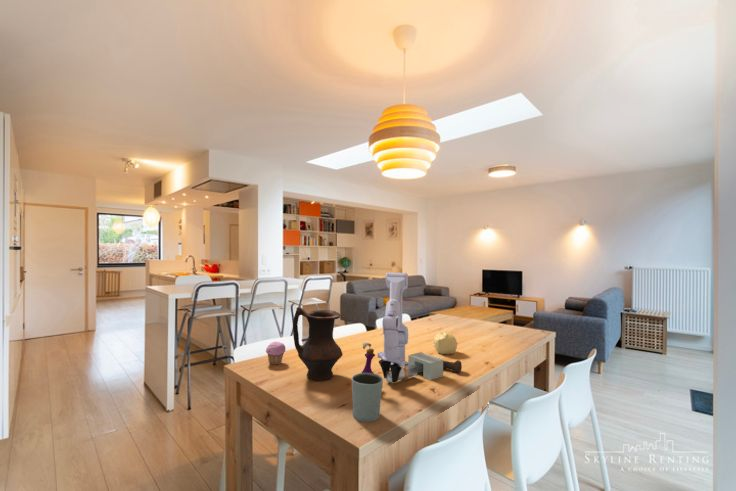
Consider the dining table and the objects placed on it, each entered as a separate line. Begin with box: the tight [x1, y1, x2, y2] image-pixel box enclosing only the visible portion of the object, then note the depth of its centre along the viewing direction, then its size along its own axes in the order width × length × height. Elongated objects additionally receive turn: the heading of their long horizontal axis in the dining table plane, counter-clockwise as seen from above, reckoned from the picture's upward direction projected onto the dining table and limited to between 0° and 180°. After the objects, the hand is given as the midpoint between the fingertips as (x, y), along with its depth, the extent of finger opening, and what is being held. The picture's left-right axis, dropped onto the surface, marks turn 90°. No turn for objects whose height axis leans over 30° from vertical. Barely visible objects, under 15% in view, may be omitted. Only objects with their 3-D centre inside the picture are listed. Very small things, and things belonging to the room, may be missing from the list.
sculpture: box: [433, 331, 458, 355], centre depth 177 cm, size 12×12×11 cm
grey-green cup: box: [351, 372, 384, 423], centre depth 108 cm, size 10×10×12 cm
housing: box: [407, 351, 444, 381], centre depth 146 cm, size 13×8×7 cm, turn 37°
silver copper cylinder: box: [384, 364, 419, 384], centre depth 138 cm, size 6×14×6 cm, turn 127°
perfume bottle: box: [361, 342, 376, 374], centre depth 128 cm, size 8×8×18 cm
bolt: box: [443, 359, 463, 375], centre depth 152 cm, size 6×5×15 cm
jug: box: [292, 305, 344, 382], centre depth 141 cm, size 21×18×30 cm
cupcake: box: [265, 341, 286, 365], centre depth 157 cm, size 9×9×10 cm
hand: (390, 379), depth 134 cm, fingers closed on silver copper cylinder, 4 cm apart
